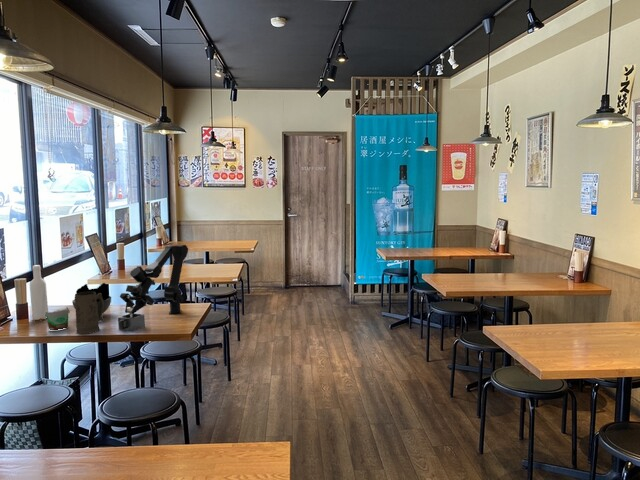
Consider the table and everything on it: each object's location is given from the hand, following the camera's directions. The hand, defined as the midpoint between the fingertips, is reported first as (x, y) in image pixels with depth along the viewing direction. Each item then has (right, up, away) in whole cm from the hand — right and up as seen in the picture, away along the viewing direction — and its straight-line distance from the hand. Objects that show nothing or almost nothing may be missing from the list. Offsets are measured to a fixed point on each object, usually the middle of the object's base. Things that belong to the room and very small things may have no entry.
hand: (128, 313), depth 264 cm
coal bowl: (-30, -6, +27) cm, 41 cm away
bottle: (-58, -7, +24) cm, 63 cm away
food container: (-36, -9, +3) cm, 37 cm away
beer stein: (-19, -9, +1) cm, 21 cm away
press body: (0, -8, +1) cm, 8 cm away
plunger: (+1, -7, +2) cm, 7 cm away
